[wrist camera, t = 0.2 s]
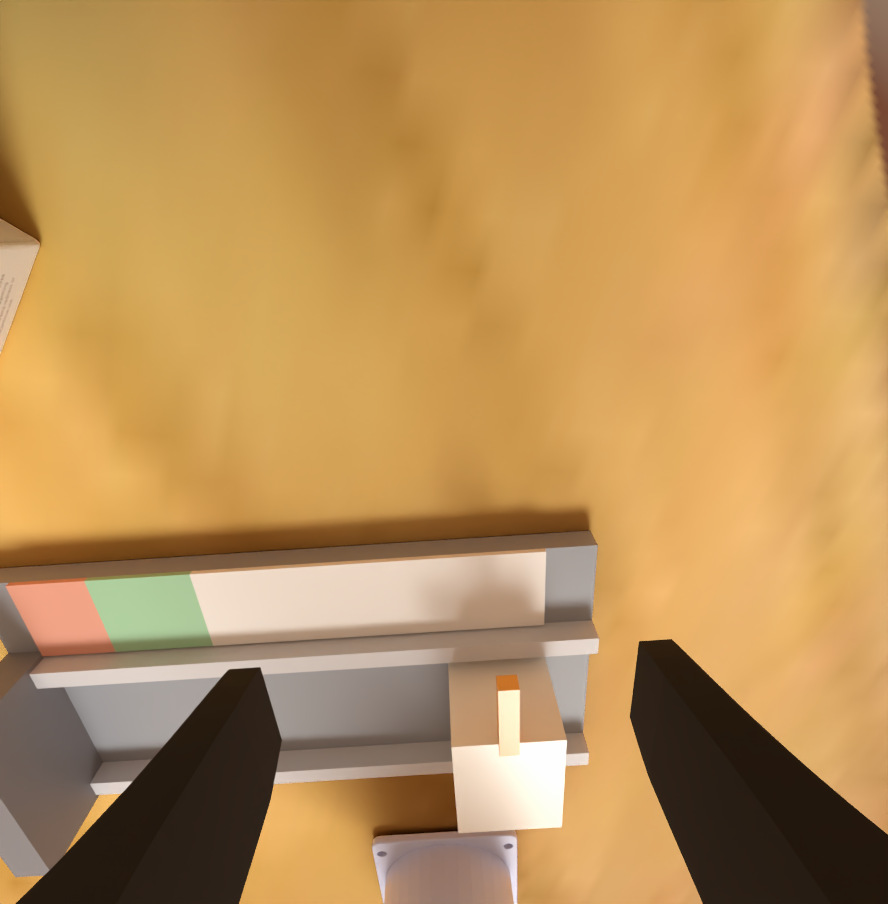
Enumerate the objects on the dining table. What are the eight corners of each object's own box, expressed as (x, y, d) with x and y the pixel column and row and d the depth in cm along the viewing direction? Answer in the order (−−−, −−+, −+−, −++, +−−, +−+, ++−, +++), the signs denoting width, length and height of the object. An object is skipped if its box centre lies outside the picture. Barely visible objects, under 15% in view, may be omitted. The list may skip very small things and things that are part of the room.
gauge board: (575, 734, 25) (607, 848, 20) (95, 764, 25) (20, 883, 21) (590, 530, 20) (637, 621, 15) (-9, 568, 20) (-138, 669, 16)
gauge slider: (541, 731, 23) (562, 829, 19) (454, 737, 23) (458, 836, 19) (544, 599, 20) (571, 686, 16) (444, 606, 20) (446, 694, 16)
